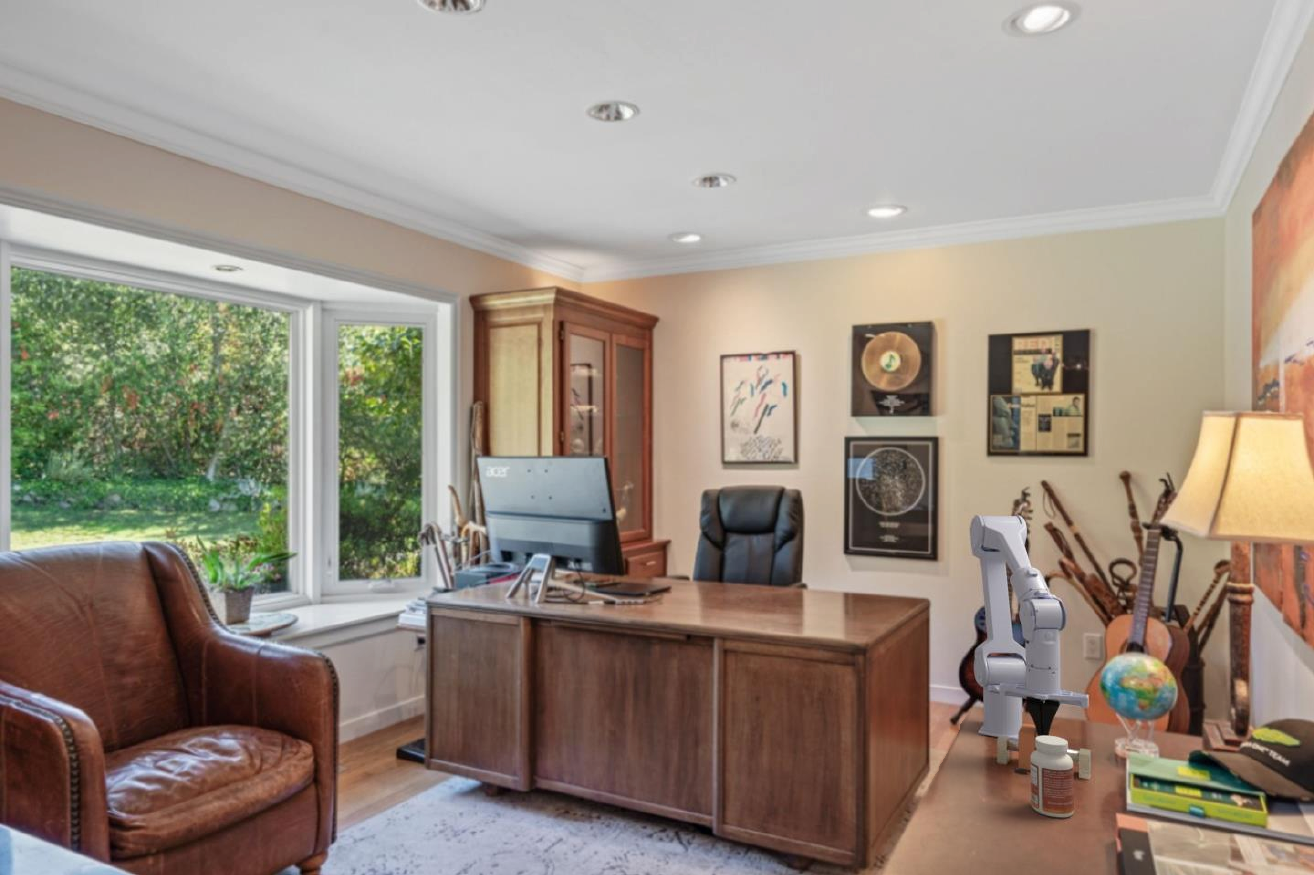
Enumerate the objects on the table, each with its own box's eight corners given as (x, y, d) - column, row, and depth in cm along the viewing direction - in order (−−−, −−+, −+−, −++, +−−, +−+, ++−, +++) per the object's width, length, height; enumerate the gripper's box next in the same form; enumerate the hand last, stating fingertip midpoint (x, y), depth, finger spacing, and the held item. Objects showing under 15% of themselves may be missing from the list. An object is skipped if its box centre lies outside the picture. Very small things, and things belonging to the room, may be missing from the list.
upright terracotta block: (1018, 768, 148) (1018, 732, 148) (1023, 758, 153) (1023, 723, 153) (1033, 771, 147) (1033, 734, 147) (1038, 760, 152) (1038, 725, 152)
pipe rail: (994, 768, 149) (993, 744, 149) (1003, 752, 157) (1003, 729, 157) (1087, 786, 141) (1087, 760, 141) (1092, 768, 149) (1091, 744, 149)
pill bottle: (1082, 813, 130) (1081, 741, 130) (1060, 822, 126) (1059, 749, 127) (1045, 799, 135) (1044, 731, 135) (1022, 808, 132) (1022, 737, 132)
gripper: (996, 664, 150) (996, 740, 149) (1086, 675, 142) (1086, 755, 142) (1002, 656, 156) (1003, 729, 155) (1089, 667, 148) (1090, 743, 148)
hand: (1043, 741), depth 149 cm, fingers closed
